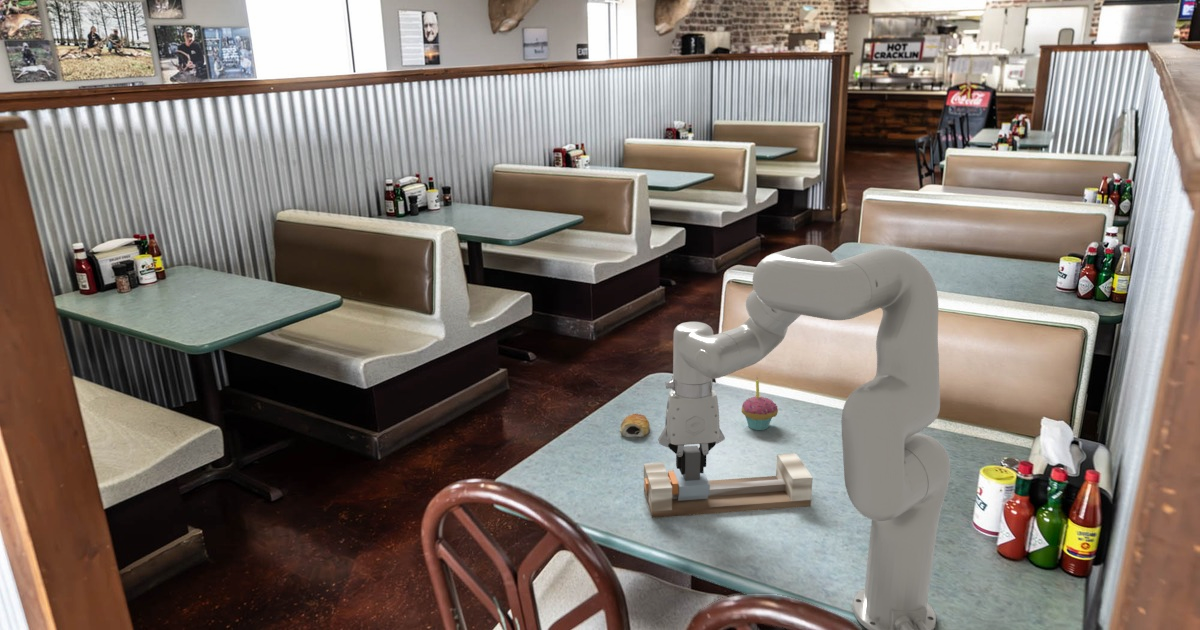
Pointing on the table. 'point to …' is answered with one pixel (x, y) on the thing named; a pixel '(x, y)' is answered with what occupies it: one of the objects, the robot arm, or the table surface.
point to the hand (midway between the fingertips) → (691, 469)
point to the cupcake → (759, 411)
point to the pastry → (635, 426)
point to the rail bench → (730, 501)
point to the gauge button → (672, 480)
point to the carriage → (692, 477)
